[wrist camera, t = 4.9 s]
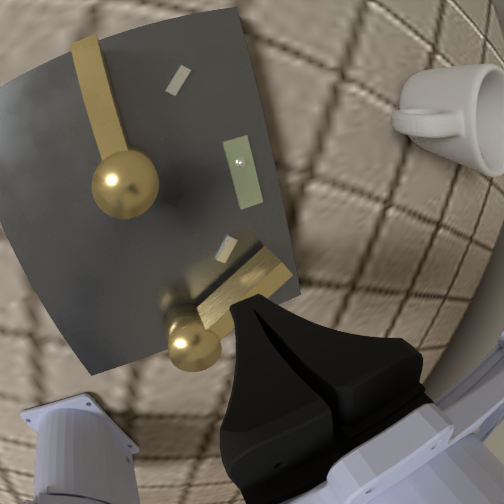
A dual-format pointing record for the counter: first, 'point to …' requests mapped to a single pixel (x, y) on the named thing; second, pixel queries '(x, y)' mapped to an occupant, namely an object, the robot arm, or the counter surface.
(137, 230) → the base plate
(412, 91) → the cup
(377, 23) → the counter surface
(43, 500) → the robot arm
